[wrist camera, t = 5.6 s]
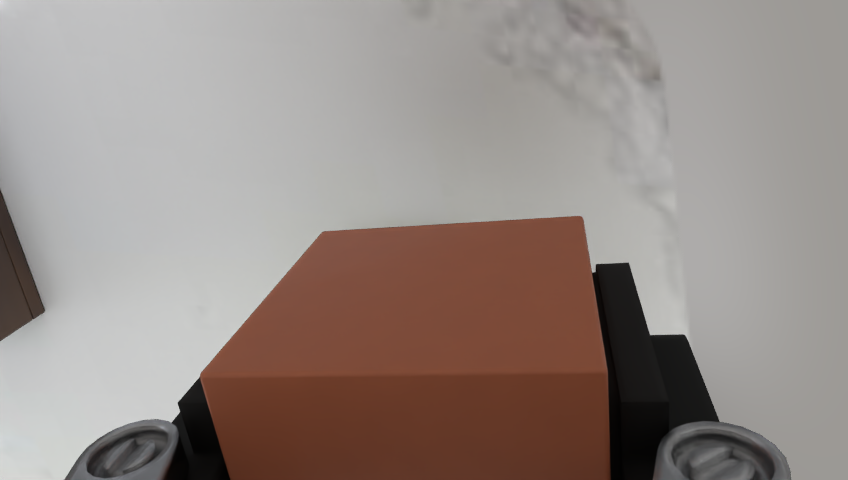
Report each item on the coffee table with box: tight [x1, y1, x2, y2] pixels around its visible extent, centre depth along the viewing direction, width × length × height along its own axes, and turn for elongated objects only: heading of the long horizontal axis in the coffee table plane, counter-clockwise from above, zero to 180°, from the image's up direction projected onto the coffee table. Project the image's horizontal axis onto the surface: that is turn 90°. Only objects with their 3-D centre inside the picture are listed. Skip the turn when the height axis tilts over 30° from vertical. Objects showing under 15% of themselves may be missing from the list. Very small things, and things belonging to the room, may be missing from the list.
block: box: [200, 216, 611, 480], centre depth 10 cm, size 5×5×5 cm
